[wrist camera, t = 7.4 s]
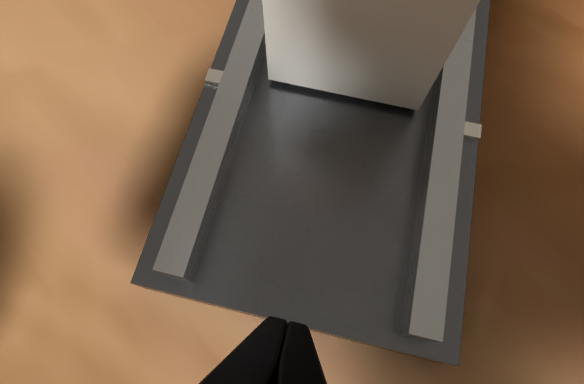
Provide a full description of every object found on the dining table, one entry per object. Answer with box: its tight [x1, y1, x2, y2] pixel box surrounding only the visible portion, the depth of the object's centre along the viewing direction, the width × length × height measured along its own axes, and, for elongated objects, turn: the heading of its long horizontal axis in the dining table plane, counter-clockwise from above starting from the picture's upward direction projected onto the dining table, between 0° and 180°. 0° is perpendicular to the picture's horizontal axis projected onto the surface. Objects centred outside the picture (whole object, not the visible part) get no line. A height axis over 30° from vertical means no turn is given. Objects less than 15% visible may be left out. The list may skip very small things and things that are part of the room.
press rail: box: [131, 0, 490, 366], centre depth 15 cm, size 18×11×4 cm, turn 167°
